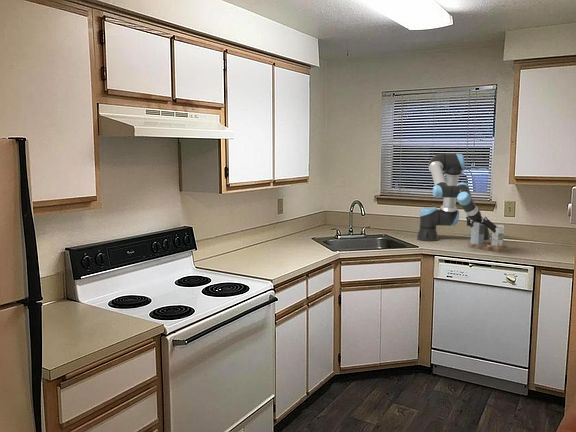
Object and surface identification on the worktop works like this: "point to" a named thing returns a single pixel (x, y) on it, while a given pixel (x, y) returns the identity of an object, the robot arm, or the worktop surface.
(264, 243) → the worktop surface
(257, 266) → the worktop surface
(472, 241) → the blue-grey tall block
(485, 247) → the rail
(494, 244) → the syrup box
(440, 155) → the robot arm
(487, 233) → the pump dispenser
